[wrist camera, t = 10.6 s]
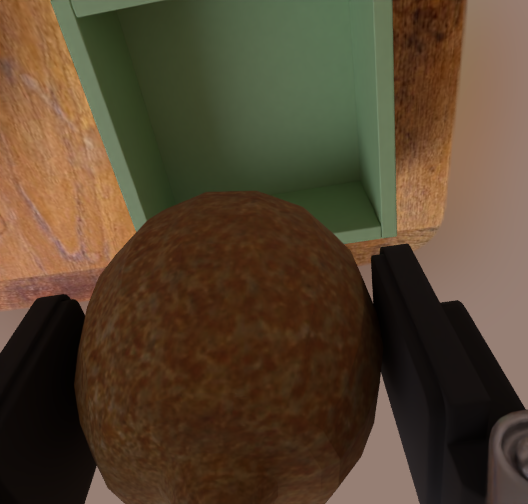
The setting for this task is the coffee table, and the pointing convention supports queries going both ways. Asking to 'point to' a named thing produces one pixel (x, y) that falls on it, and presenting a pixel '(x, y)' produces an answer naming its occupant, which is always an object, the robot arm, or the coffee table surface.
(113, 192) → the coffee table surface
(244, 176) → the green bin
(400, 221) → the coffee table surface
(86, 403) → the fruit
